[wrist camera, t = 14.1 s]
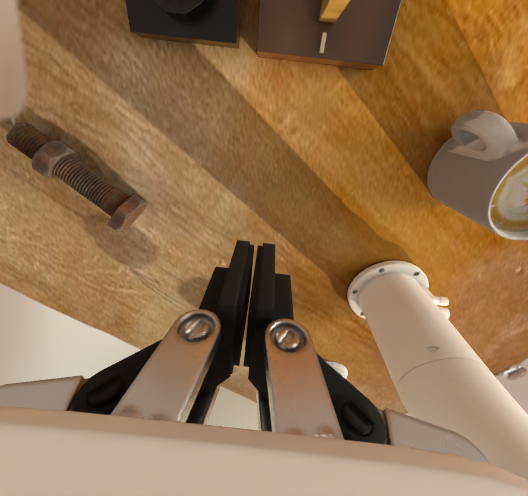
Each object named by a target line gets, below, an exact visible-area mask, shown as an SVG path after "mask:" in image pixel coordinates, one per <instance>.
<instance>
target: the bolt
mask: <svg viewBox="0 0 528 496" xmlns="http://www.w3.org/2000/svg"><path fill="white" fill-rule="evenodd" d="M6 138H7V142H8V143H9V144H11V145H12V146H14V147H15V148H17V149H18V150H20V151H21V152H22V153H23V154H25V155H26V156H28V157H29V158H31V159H32V167H33V169H34V170H36V171H37V172H39V173H40V174H41V175H43V176H45V177H48V178H50V179H58V178H59V179H60V180H61V181H63V182H64V183H66V184H67V185H69V186H70V187H71V188H73V189H74V190H76V191H77V192H79V193H80V194H82V195H83V196H84V197H87V199H89V200H90V201H92V202H93V203H94V204H95V205H97V206H98V207H100V208H101V209H102V210H103V211H104V212H105V213H107V214H108V215H110V216H111V217H112V218H111V219H110V221H109V222H108V224H107V225H109V226H110V227H112V228H113V229H115V230H117V231H123V230H125V229H126V228H127V227H129V226H130V225H131V224H132V223H133V222H134V221H135V220H136V219H137V218H138V216H139V215H140V214H141V213H142V212H143V210H144V209H145V207H146V204H147V202H146V201H145V200H144V199H142V198H141V197H140V196H138V195H135V194H133V195H132V196H131V197H128V196H127V195H126V194H124V193H123V192H121V191H119V190H117V189H116V188H115V187H113V186H112V185H110V183H108V182H107V181H105V180H104V179H103V178H102V177H100V176H99V175H98V174H96V173H95V172H93V171H92V170H91V169H90V168H88V167H87V166H85V165H84V164H83V163H82V162H80V161H79V160H78V153H77V152H76V151H75V150H73V149H72V148H71V147H69V146H68V145H66V144H65V143H63V142H61V141H52V140H51V139H50V138H48V137H47V136H45V135H44V134H43V133H42V132H40V131H39V130H38V129H36V128H35V127H34V126H32V125H31V124H27V123H25V124H22V123H17V124H15V125H14V126H13V128H12V129H11V130H10V132H9V133H8V134H7V136H6Z"/></svg>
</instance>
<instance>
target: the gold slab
mask: <svg viewBox="0 0 528 496" xmlns="http://www.w3.org/2000/svg"><path fill="white" fill-rule="evenodd" d="M349 2H350V0H322V4H321V10H320V16H319V21H323V22H331V23H335V21H336V20H337V18H338V17H339V16H340V14H341V13H342V11H343V10H344V9H345V7H346V6H347V4H348V3H349Z"/></svg>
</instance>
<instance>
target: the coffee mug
mask: <svg viewBox="0 0 528 496" xmlns="http://www.w3.org/2000/svg"><path fill="white" fill-rule="evenodd" d="M451 134H452V137H451V138H449V139H448V140H447V141H446V142H445V143H444V144H443V145H442V147H441V148H440V149H439V150H438V151H437V153H436V154H435V156H434V158H433V159H432V162H431V164H430V166H429V170H428V174H427V184H428V188H429V191H430V193H431V195H432V196H433V197H434V198H435V199H436V200H438V201H440V202H441V203H443V204H445V205H447V206H448V207H450V208H452V209H454V210H455V211H457V212H459V213H461V214H462V215H464V216H466V217H468V218H469V219H471V220H473V221H475V222H476V223H478V224H480V225H482V226H484V227H485V228H487V229H489V230H491V231H492V232H494V233H496V234H498V235H500V236H502V237H505V238H507V239H513V240H528V123H513V122H508V121H506V120H505V118H503V117H502V116H500V115H498V114H496V113H494V112H491V111H487V110H473V111H469V112H466V113H464V114H463V115H461V116H460V117H458V118H457V119H456V120H455V121H454V122H453V124H452V126H451Z"/></svg>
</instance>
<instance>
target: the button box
mask: <svg viewBox="0 0 528 496" xmlns="http://www.w3.org/2000/svg"><path fill="white" fill-rule="evenodd" d="M126 5H127V11H128V18H129V25H130V31H131V32H133V33H135V34H137V35H138V36H140V37H143V38H152V39H161V40H169V41H178V42H187V43H195V44H204V45H213V46H222V47H230V48H239V38H240V5H241V0H126Z"/></svg>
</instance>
